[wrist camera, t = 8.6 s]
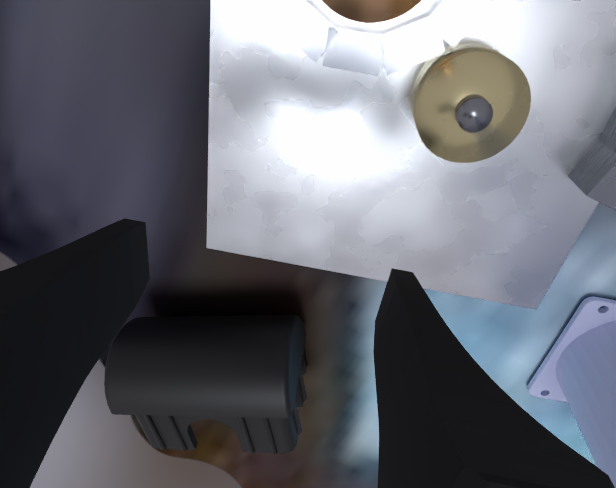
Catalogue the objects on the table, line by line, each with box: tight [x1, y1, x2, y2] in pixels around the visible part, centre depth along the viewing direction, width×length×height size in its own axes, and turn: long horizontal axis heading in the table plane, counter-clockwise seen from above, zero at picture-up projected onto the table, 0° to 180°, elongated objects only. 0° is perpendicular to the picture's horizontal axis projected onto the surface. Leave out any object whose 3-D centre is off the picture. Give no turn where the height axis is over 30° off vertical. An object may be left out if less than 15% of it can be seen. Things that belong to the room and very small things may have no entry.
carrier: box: [207, 0, 616, 309], centre depth 17 cm, size 18×20×4 cm
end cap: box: [104, 315, 307, 454], centre depth 25 cm, size 10×7×7 cm
